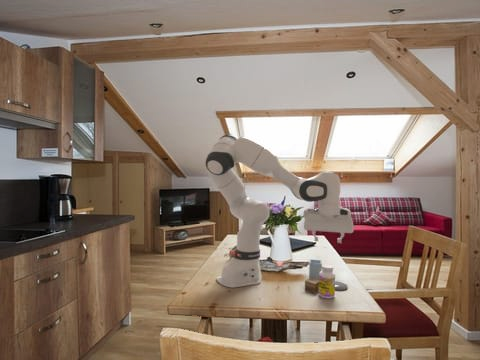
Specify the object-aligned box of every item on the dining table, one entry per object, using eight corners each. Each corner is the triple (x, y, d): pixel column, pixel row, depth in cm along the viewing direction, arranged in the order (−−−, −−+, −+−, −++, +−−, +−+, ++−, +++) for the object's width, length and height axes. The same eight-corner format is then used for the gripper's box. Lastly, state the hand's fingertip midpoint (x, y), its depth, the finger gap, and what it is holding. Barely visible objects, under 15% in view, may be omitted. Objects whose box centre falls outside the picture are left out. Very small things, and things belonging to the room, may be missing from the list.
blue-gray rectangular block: (308, 283, 143) (309, 262, 142) (309, 279, 148) (309, 259, 148) (321, 284, 141) (321, 263, 141) (321, 280, 147) (321, 260, 146)
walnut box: (314, 292, 132) (314, 283, 132) (304, 289, 136) (305, 280, 135) (320, 289, 136) (320, 280, 135) (310, 286, 139) (311, 277, 139)
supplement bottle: (315, 295, 129) (316, 265, 129) (323, 291, 134) (324, 262, 133) (329, 300, 124) (330, 269, 124) (337, 296, 129) (338, 266, 128)
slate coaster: (338, 292, 133) (338, 291, 133) (320, 285, 141) (320, 283, 141) (352, 287, 139) (352, 286, 138) (333, 280, 147) (334, 279, 147)
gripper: (303, 209, 128) (302, 241, 128) (354, 211, 123) (353, 245, 123) (304, 207, 134) (303, 238, 134) (353, 209, 129) (352, 242, 129)
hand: (327, 241), depth 129 cm, fingers open, 8 cm apart
